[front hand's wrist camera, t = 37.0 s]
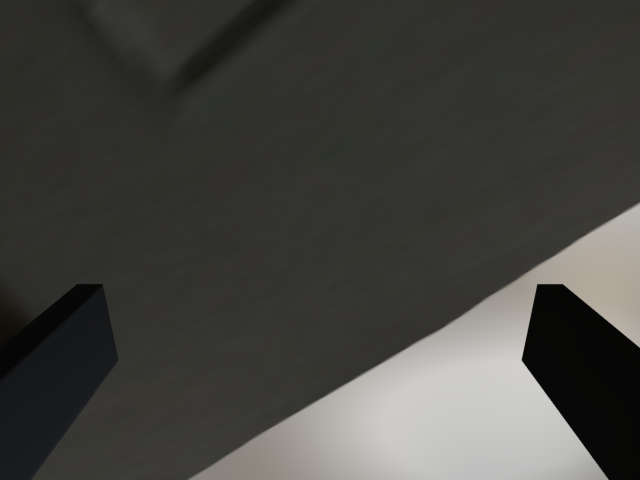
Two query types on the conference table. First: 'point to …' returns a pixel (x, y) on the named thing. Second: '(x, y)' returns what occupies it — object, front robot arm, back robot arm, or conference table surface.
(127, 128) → the conference table surface
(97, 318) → the front robot arm
